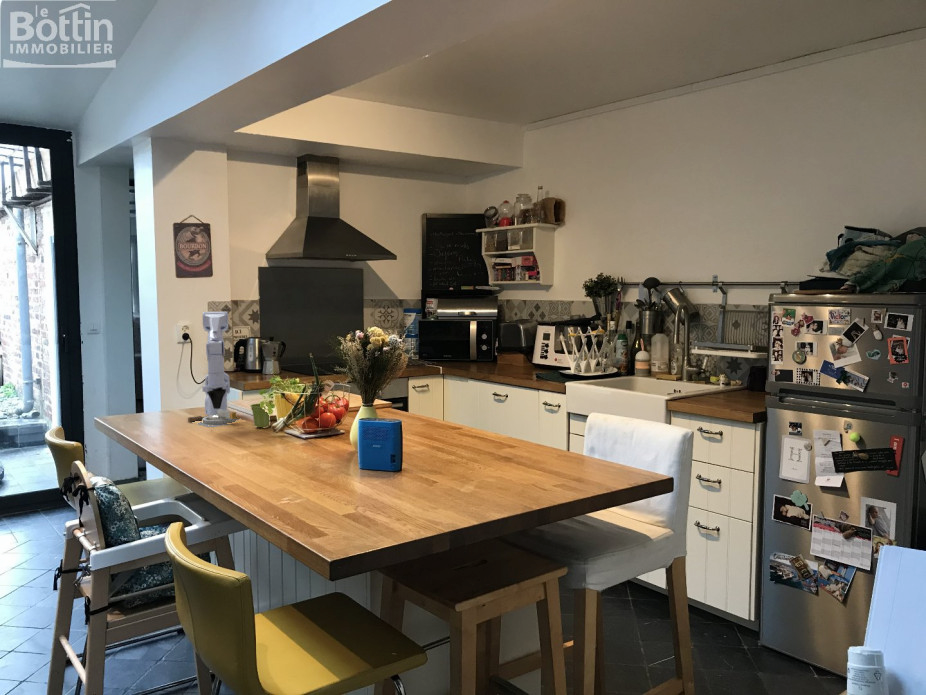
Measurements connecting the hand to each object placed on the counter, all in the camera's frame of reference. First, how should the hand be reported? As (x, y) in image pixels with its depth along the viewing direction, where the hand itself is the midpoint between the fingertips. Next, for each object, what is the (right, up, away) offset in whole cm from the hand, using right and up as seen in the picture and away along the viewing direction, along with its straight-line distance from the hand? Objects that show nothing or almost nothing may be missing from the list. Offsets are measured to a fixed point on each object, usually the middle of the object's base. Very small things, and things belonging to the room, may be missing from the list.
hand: (217, 408), depth 282 cm
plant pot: (+17, -8, +3) cm, 19 cm away
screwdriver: (-10, -6, +13) cm, 17 cm away
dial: (0, -6, +8) cm, 10 cm away
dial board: (-3, -7, +11) cm, 13 cm away
